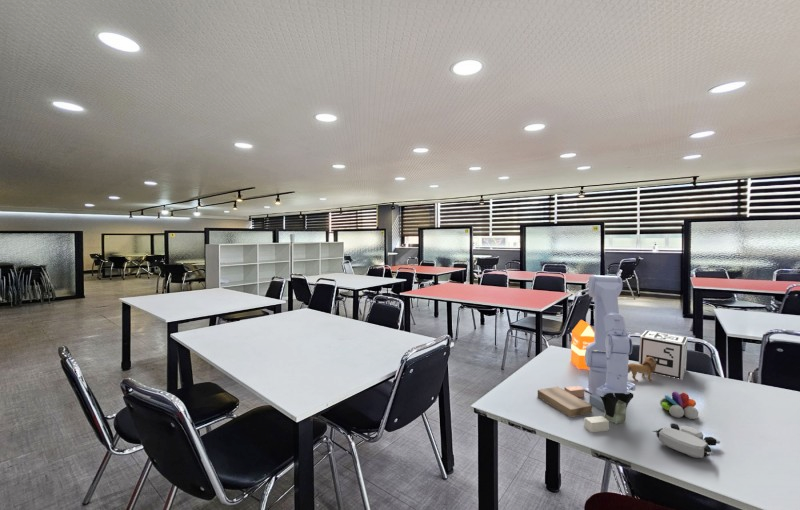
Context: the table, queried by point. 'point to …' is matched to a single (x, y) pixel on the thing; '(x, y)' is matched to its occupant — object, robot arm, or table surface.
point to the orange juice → (581, 343)
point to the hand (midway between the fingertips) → (614, 414)
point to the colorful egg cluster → (680, 405)
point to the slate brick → (597, 401)
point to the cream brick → (596, 424)
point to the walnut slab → (565, 401)
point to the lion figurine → (643, 368)
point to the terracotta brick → (575, 391)
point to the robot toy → (686, 440)
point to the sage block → (618, 413)
